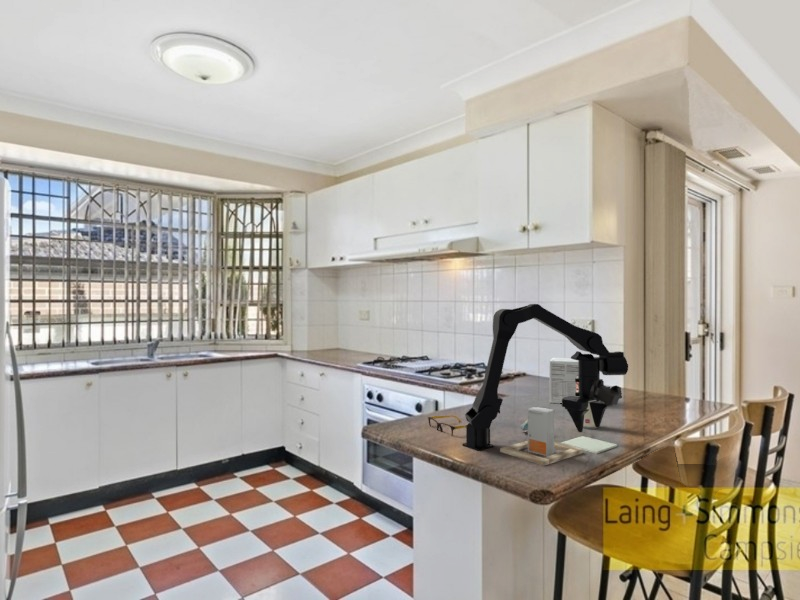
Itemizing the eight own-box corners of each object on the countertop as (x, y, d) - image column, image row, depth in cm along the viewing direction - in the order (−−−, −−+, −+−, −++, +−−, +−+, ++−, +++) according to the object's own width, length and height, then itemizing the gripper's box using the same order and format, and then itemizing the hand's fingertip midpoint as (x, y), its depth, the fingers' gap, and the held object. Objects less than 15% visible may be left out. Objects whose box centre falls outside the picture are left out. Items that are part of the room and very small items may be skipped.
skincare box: (527, 452, 130) (527, 408, 130) (534, 449, 133) (534, 406, 134) (547, 457, 126) (547, 412, 126) (555, 453, 129) (555, 409, 129)
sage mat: (596, 453, 129) (596, 451, 129) (561, 444, 138) (561, 442, 138) (617, 446, 136) (617, 444, 136) (582, 437, 145) (582, 436, 145)
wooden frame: (543, 466, 119) (543, 461, 119) (500, 452, 130) (500, 448, 130) (582, 453, 130) (582, 448, 130) (539, 441, 141) (539, 437, 141)
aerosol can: (576, 423, 162) (576, 364, 163) (598, 425, 160) (598, 365, 160) (576, 427, 156) (576, 367, 156) (598, 430, 154) (598, 368, 154)
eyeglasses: (425, 428, 157) (425, 416, 157) (461, 423, 164) (461, 411, 164) (450, 439, 144) (450, 426, 144) (488, 433, 151) (488, 420, 151)
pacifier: (536, 427, 153) (542, 415, 149) (545, 443, 148) (551, 432, 145) (516, 429, 151) (521, 417, 147) (523, 446, 146) (530, 434, 143)
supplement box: (583, 405, 190) (583, 362, 191) (549, 403, 195) (549, 360, 196) (583, 399, 203) (583, 358, 203) (551, 397, 208) (551, 357, 208)
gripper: (597, 382, 125) (597, 441, 125) (632, 375, 136) (632, 430, 136) (560, 377, 134) (560, 432, 134) (596, 371, 145) (596, 422, 145)
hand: (588, 429), depth 137 cm, fingers open, 9 cm apart
